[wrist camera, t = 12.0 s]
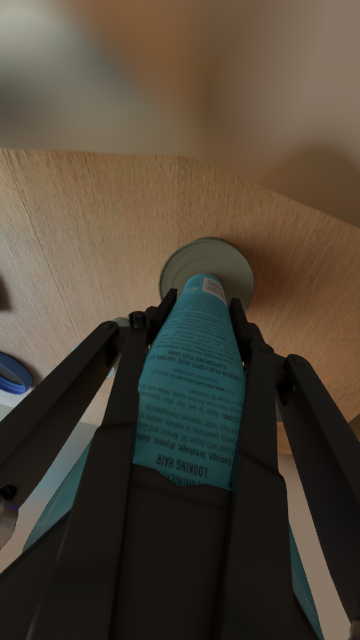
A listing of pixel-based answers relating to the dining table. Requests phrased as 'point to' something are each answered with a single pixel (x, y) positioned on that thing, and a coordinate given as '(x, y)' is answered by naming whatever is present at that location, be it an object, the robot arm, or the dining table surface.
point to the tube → (188, 410)
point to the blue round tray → (13, 376)
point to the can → (209, 269)
